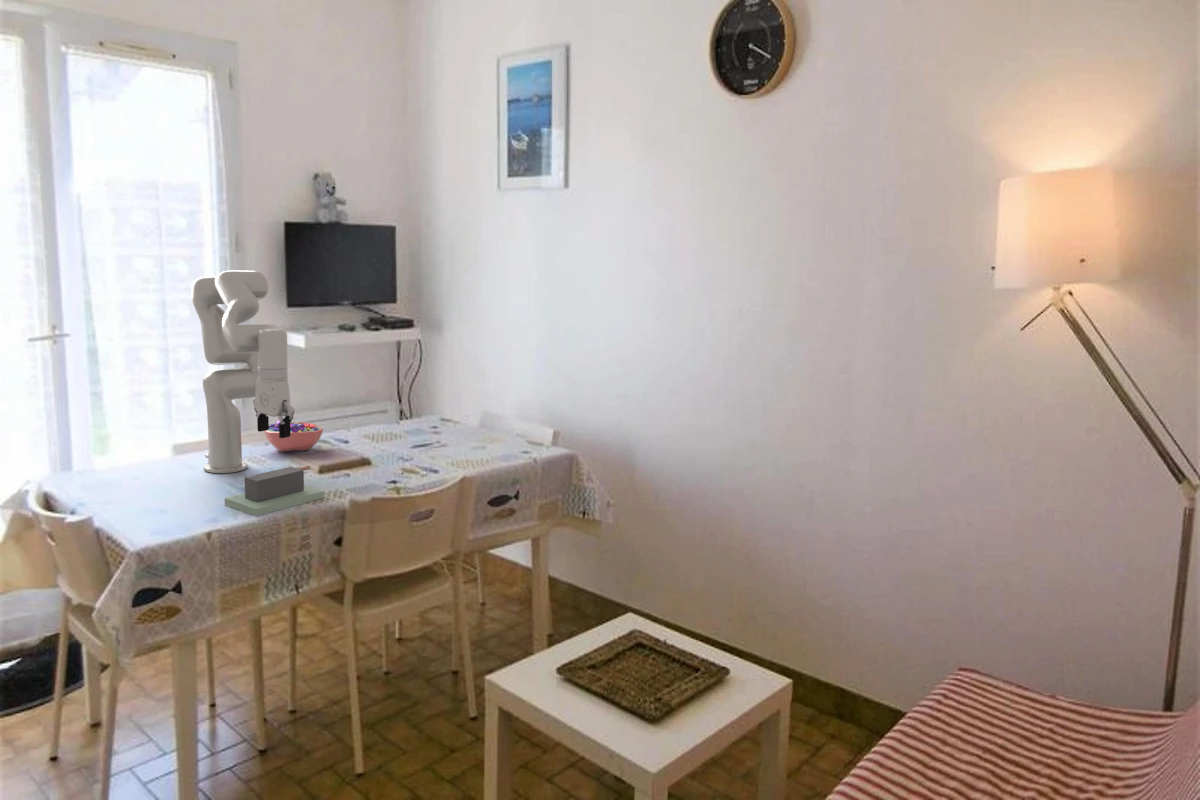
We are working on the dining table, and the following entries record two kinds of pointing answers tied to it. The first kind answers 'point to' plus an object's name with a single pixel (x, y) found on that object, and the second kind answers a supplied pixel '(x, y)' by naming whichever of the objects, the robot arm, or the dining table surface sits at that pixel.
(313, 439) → the cell model
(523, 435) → the dining table surface
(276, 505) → the header board
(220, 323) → the robot arm
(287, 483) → the block
